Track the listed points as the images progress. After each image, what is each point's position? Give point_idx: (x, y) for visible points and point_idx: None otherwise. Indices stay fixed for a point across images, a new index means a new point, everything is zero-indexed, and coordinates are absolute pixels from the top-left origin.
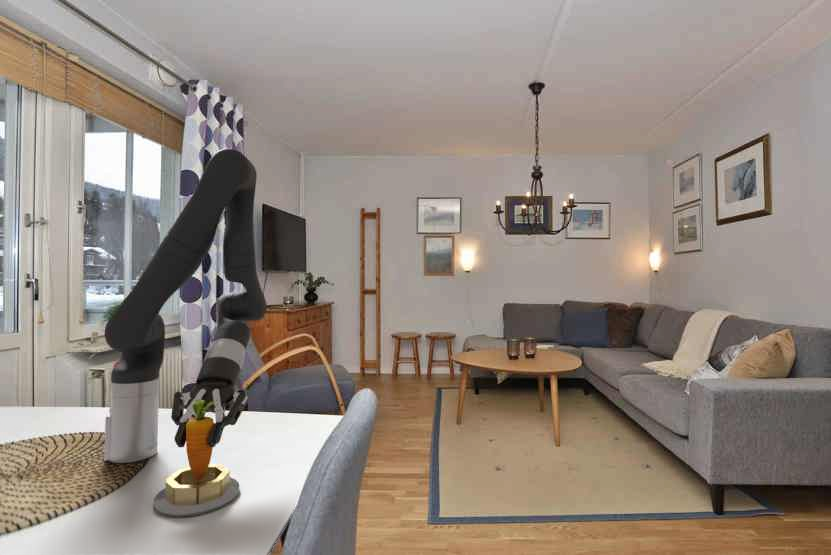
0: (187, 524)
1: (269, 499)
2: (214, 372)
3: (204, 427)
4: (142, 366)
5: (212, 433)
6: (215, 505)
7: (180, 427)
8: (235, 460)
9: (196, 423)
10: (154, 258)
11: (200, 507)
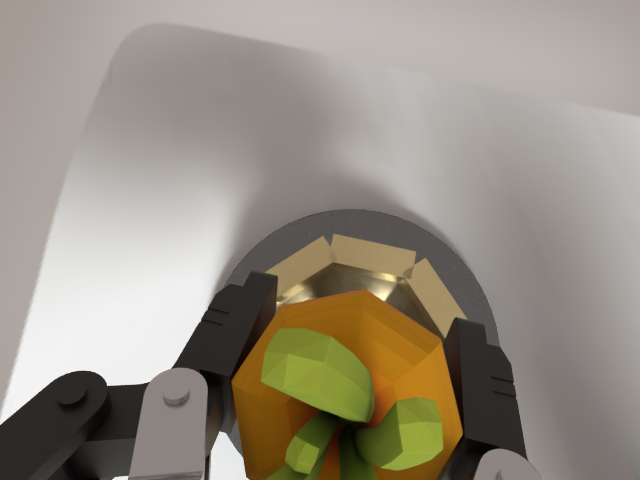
0: (345, 172)
1: (112, 273)
2: None
3: (293, 305)
4: None
5: (245, 308)
6: (273, 233)
7: (505, 432)
8: None
9: (356, 313)
10: None
11: (318, 227)
